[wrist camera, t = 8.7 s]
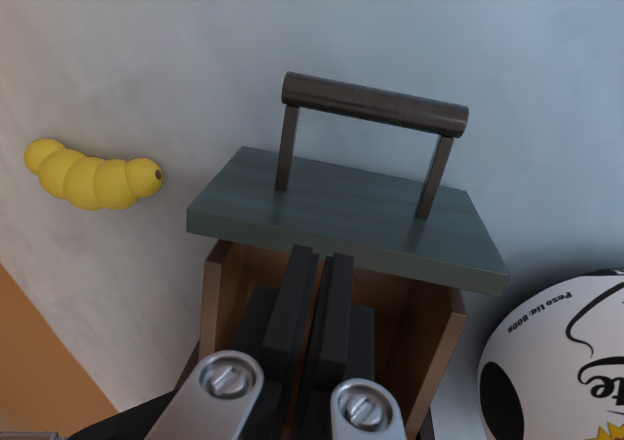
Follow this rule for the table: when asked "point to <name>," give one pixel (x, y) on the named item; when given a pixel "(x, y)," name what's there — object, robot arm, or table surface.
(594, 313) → the milk container
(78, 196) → the yellow caterpillar toy
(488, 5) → the table surface
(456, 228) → the drawer
